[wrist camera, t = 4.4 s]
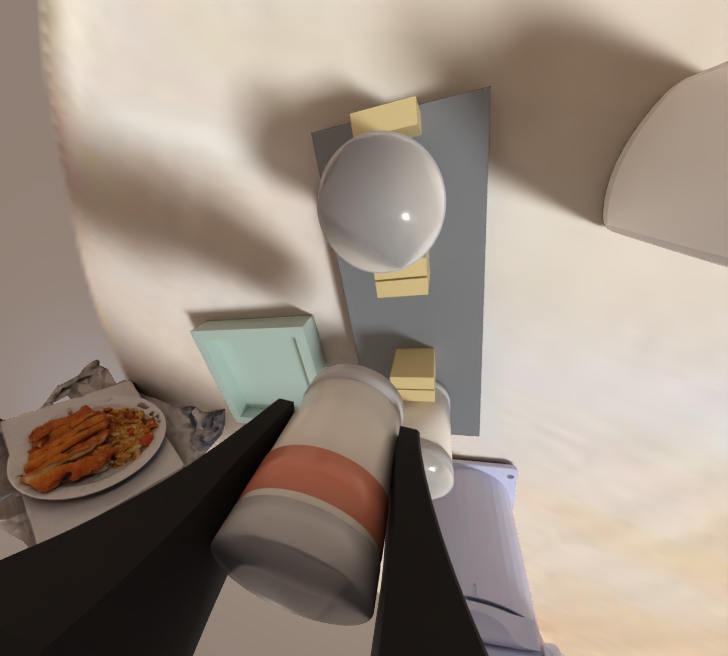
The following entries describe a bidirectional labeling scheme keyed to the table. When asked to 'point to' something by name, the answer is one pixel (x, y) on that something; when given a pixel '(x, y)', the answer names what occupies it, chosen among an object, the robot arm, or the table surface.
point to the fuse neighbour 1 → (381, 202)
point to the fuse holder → (428, 261)
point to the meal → (92, 453)
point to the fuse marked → (320, 502)
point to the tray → (260, 360)
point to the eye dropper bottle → (677, 172)
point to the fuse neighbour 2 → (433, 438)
